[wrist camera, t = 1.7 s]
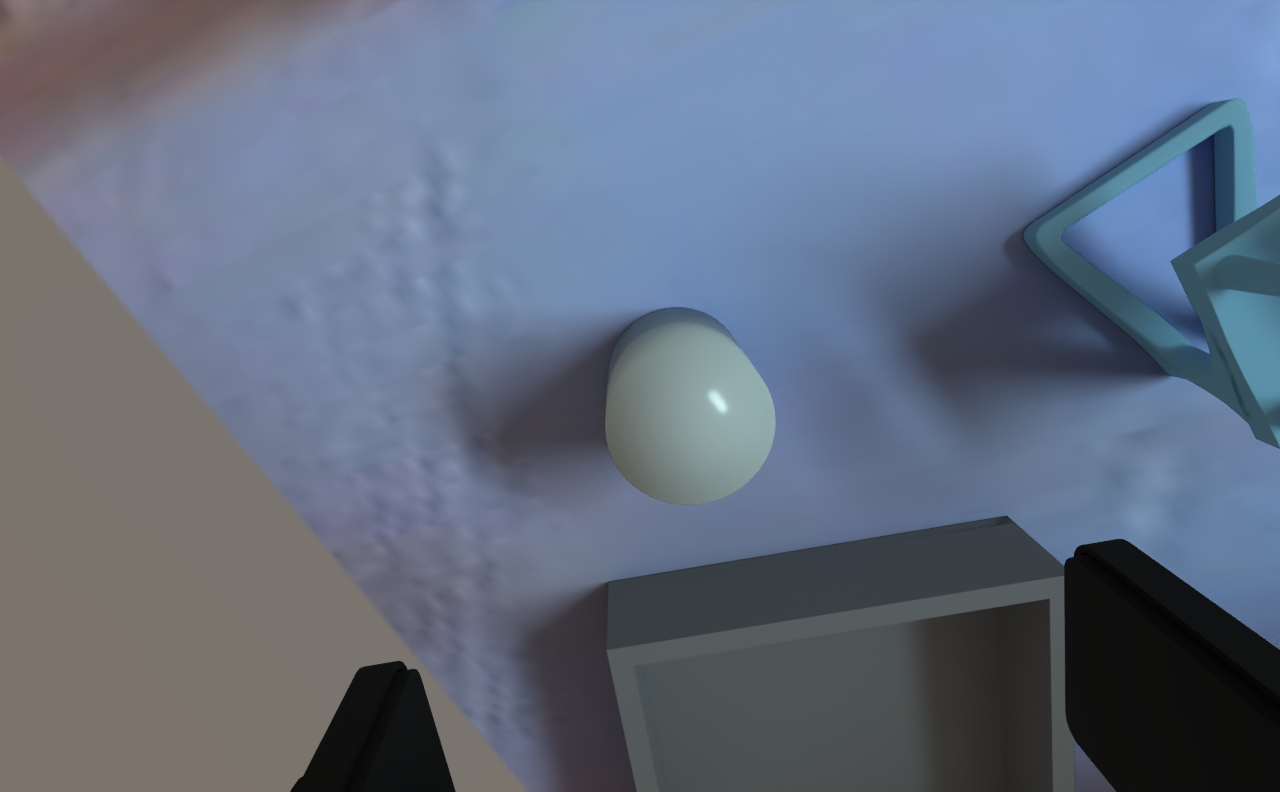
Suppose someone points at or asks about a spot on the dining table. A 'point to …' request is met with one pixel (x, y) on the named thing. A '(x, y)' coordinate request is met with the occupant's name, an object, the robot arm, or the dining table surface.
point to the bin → (849, 668)
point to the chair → (1197, 270)
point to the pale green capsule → (686, 408)
